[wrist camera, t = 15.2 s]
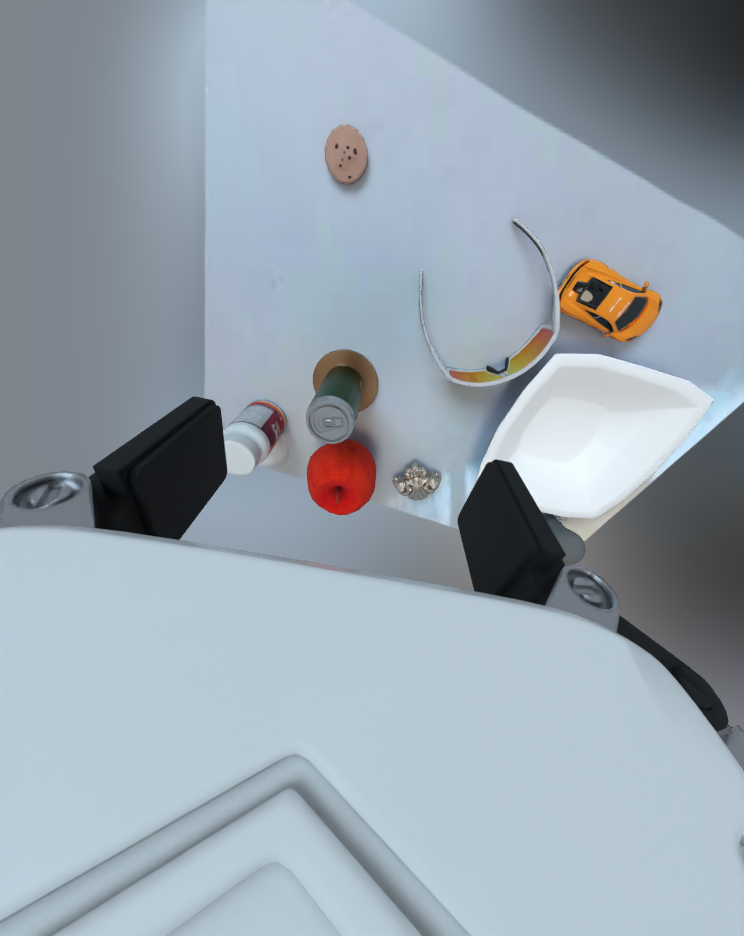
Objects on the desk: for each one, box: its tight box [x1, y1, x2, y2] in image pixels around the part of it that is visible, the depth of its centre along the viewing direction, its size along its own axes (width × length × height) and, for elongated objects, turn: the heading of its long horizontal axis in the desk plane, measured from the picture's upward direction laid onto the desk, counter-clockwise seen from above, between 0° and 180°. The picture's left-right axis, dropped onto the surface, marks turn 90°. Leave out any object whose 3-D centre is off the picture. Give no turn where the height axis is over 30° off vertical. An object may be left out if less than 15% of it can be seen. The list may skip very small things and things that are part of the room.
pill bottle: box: [223, 400, 286, 475], centre depth 40 cm, size 6×6×11 cm
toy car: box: [558, 259, 663, 342], centre depth 32 cm, size 6×12×3 cm, turn 69°
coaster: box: [313, 349, 378, 412], centre depth 41 cm, size 9×9×1 cm
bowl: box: [476, 354, 713, 518], centre depth 41 cm, size 22×23×6 cm
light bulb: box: [543, 513, 586, 565], centre depth 49 cm, size 6×6×10 cm
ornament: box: [393, 462, 441, 500], centre depth 48 cm, size 8×7×4 cm
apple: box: [307, 439, 376, 515], centre depth 42 cm, size 10×10×12 cm
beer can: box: [306, 366, 363, 444], centre depth 36 cm, size 5×5×12 cm
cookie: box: [325, 125, 367, 184], centre depth 27 cm, size 4×4×1 cm
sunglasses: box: [419, 217, 560, 387], centre depth 34 cm, size 14×15×5 cm
